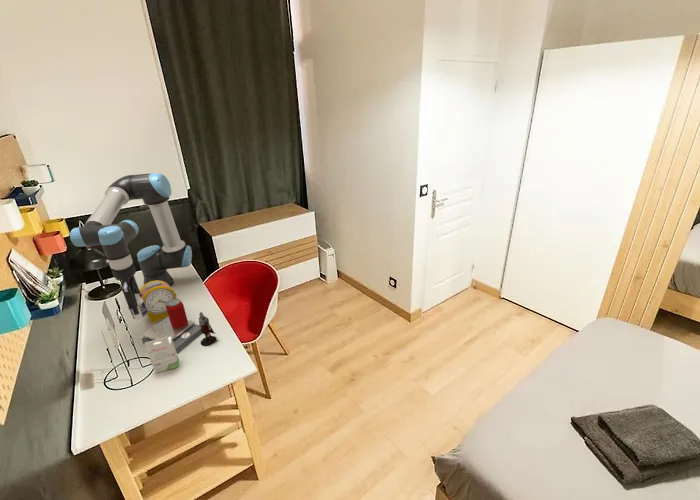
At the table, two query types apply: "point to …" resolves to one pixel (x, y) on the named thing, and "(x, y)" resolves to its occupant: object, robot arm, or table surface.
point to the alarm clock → (157, 299)
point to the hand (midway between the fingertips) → (140, 315)
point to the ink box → (162, 354)
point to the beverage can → (176, 313)
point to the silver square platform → (165, 330)
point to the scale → (182, 337)
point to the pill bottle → (141, 305)
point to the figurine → (206, 331)
